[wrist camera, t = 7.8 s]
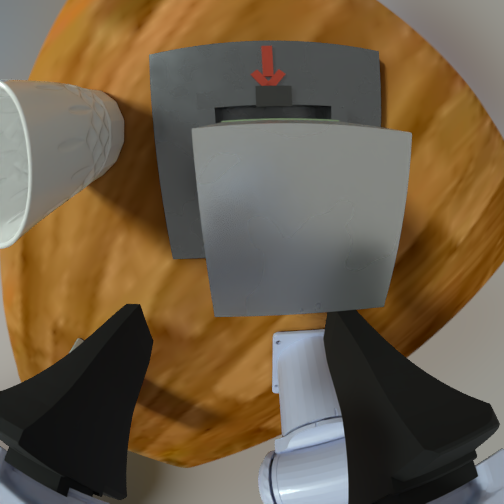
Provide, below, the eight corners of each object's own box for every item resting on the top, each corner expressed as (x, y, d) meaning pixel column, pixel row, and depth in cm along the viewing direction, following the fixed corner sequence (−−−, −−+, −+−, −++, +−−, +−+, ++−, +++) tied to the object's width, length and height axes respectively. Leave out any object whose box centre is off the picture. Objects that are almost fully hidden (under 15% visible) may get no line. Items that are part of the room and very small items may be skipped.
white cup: (69, 71, 13) (-35, 70, 4) (152, 102, 15) (54, 101, 6) (39, 164, 16) (-52, 210, 7) (111, 203, 18) (25, 277, 9)
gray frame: (364, 245, 20) (389, 280, 15) (176, 252, 20) (157, 290, 16) (372, 53, 13) (407, 40, 9) (154, 57, 13) (123, 42, 9)
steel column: (322, 207, 12) (385, 307, 6) (233, 210, 13) (213, 318, 6) (324, 118, 10) (413, 130, 4) (227, 120, 11) (188, 126, 4)
